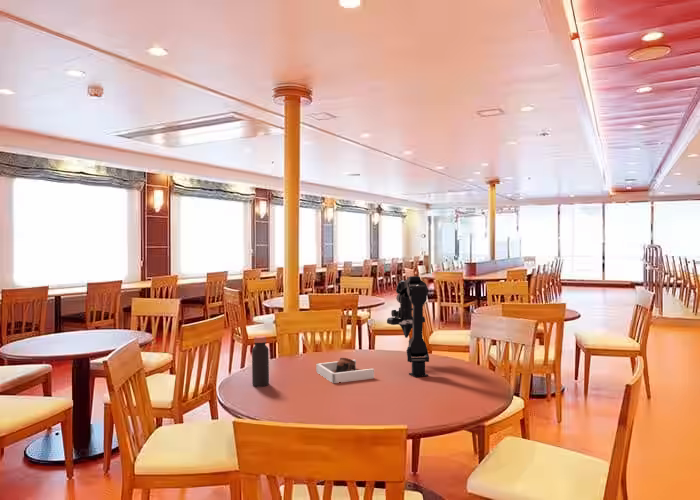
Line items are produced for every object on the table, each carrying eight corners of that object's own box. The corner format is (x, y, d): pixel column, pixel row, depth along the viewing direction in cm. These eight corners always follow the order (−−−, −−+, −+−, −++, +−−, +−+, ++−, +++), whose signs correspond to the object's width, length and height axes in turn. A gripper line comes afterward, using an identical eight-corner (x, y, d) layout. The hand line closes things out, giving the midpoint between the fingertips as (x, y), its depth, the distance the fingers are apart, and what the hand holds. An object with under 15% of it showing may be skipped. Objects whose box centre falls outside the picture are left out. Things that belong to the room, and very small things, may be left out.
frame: (374, 378, 216) (373, 369, 216) (332, 383, 208) (332, 373, 208) (354, 368, 235) (354, 359, 235) (316, 372, 227) (316, 363, 227)
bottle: (265, 387, 204) (264, 338, 203) (249, 386, 205) (249, 337, 205) (271, 382, 210) (270, 335, 210) (256, 382, 212) (255, 335, 211)
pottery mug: (329, 374, 225) (335, 357, 229) (347, 381, 228) (352, 364, 232) (341, 373, 215) (346, 355, 219) (359, 381, 218) (364, 362, 222)
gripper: (413, 303, 256) (414, 333, 256) (381, 305, 249) (381, 336, 249) (425, 305, 246) (425, 337, 246) (392, 307, 239) (392, 340, 239)
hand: (406, 337), depth 245 cm, fingers closed
